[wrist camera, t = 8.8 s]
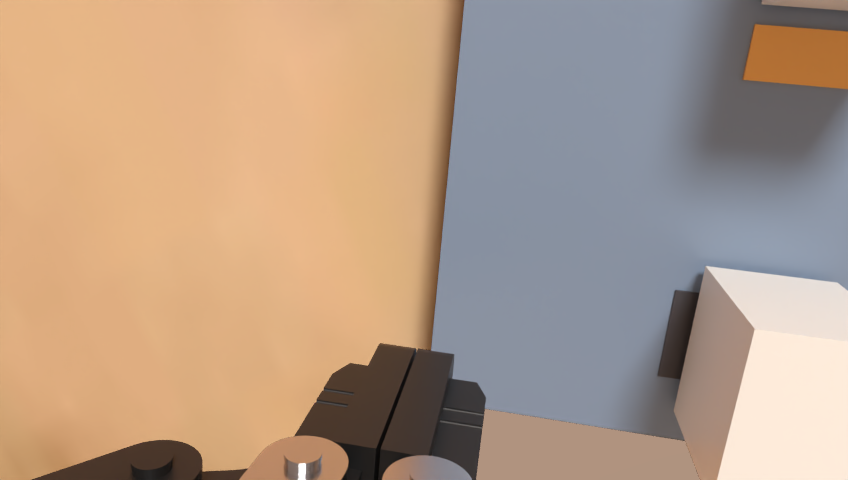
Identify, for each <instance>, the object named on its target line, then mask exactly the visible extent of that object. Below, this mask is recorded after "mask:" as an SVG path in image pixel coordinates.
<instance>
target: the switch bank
mask: <svg viewBox="0 0 848 480" xmlns="http://www.w3.org/2000/svg"><path fill="white" fill-rule="evenodd" d="M705 266H710V267H718V268H726V269H734V270H742V271H750V272H757V273H765V274H773V275H781V276H789V277H797V278H805V279H813V280H821V281H829V282H837V283H839V284H840V285H841V286H842V287H844V288H845V289H846V290H848V11H844V10H830V9H817V8H804V7H790V6H777V5H764V4H762V0H465V1H464V12H463V22H462V33H461V43H460V54H459V64H458V74H457V85H456V95H455V106H454V116H453V127H452V137H451V148H450V158H449V169H448V179H447V190H446V200H445V211H444V221H443V232H442V242H441V253H440V263H439V274H438V284H437V295H436V305H435V315H434V326H433V336H432V347H431V351H437V352H444V353H450V354H454V368H453V377H452V379H458V380H464V381H471V382H477V383H478V385H479V387H480V388H481V390H482V392H483V393H484V395H485V397H486V403H485V409H489V410H495V411H502V412H508V413H514V414H521V415H527V416H533V417H540V418H545V419H552V420H558V421H564V422H570V423H576V424H583V425H589V426H595V427H602V428H608V429H614V430H620V431H627V432H633V433H639V434H646V435H652V436H658V437H664V438H671V439H677V440H683V441H685V439H684V437H683V434H682V431H681V429H680V426H679V424H678V421H677V418H676V416H675V413H674V407H675V402H676V398H677V393H678V389H679V384H680V380H681V375H682V370H683V366H684V361H685V357H686V352H687V348H688V343H689V339H690V334H691V330H692V325H693V320H694V316H695V311H696V307H697V302H698V298H699V293H700V289H701V284H702V280H703V275H704V271H705Z"/></svg>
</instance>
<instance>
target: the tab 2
mask: <svg viewBox="0 0 848 480" xmlns="http://www.w3.org/2000/svg"><path fill="white" fill-rule="evenodd" d="M762 4H764V5H777V6H790V7H804V8H817V9H830V10H844V11H848V0H762Z"/></svg>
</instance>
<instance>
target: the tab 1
mask: <svg viewBox="0 0 848 480" xmlns="http://www.w3.org/2000/svg"><path fill="white" fill-rule="evenodd" d="M674 413H675V416H676V418H677V421H678V424H679V426H680V429H681V431H682V434H683V437H684V439H685V442H686V444H687V447H688V450H689V452H690V455H691V458H692V460H693V463H694V465H695V468H696V471H697V473H698V476H699V479H700V480H848V290H846V289H845V288H844V287H842V286H841V285H840V284H839V283H837V282H829V281H821V280H813V279H805V278H797V277H789V276H781V275H773V274H765V273H757V272H750V271H742V270H734V269H726V268H718V267H710V266H705V271H704V275H703V280H702V284H701V289H700V293H699V298H698V302H697V307H696V311H695V316H694V320H693V325H692V330H691V334H690V339H689V343H688V348H687V352H686V357H685V361H684V366H683V370H682V375H681V380H680V384H679V389H678V393H677V398H676V402H675V407H674Z"/></svg>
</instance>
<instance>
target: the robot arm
mask: <svg viewBox="0 0 848 480" xmlns="http://www.w3.org/2000/svg"><path fill="white" fill-rule="evenodd" d="M453 368H454V354H450V353H444V352H437V351H430V350H423V349H418V351H417V352H416V348H409V347H402V346H396V345H389V344H382V343H380V344H379V346H378V348H377V350H376V351H375V353H374V355H373V357H372V359H371V361H370V363H369V365H368V366H365V365H359V364H352V363H350V364H348V365H346V366H345V367H343V368H341V369H340V370H338V371H337V372H335V373H333V374H332V376H331V377H330V379H329V381H328V382H327V384H326V385H325V387H324V391H322V392H321V394H320V395H319V397H318V398H317V402H316V403H314V405H313V407H312V408H311V410H310V412H309V413H308V415H307V416H306V418H305V420H304V421H303V423H302V425H301V426H300V428H299V430H298V431H297V433H296V434H295V436H294V437H288V438H284V439H281V440H279V441H276V442H274V443H272V444H270V445H269V446H268V447H266V448H265V449H264V450H263V451H262V452H261V453H260V454H259V456H258V457H257V458H256V459H255V461H254V462H253V463H252V464H251V465H250V467H249V468H248V469H242V470H228V471H206V472H202V457H201V455H200V453H199V452H198V451H197V450H196V449H195V448H194V447H192V446H190V445H188V444H186V443H183V442H178V441H172V440H156V441H148V442H143V443H140V444H136V445H133V446H130V447H127V448H124V449H121V450H118V451H115V452H112V453H109V454H106V455H103V456H100V457H97V458H94V459H91V460H88V461H85V462H83V463H80V464H77V465H74V466H71V467H68V468H65V469H62V470H59V471H56V472H53V473H50V474H47V475H44V476H41V477H38V478H35V479H32V480H476V473H477V466H478V458H479V450H480V442H481V434H482V426H483V419H484V411H485V403H486V397H485V395H484V393H483V392H482V390H481V388H480V387H479V385H478V383H477V382H471V381H464V380H458V379H452V377H453Z"/></svg>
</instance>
